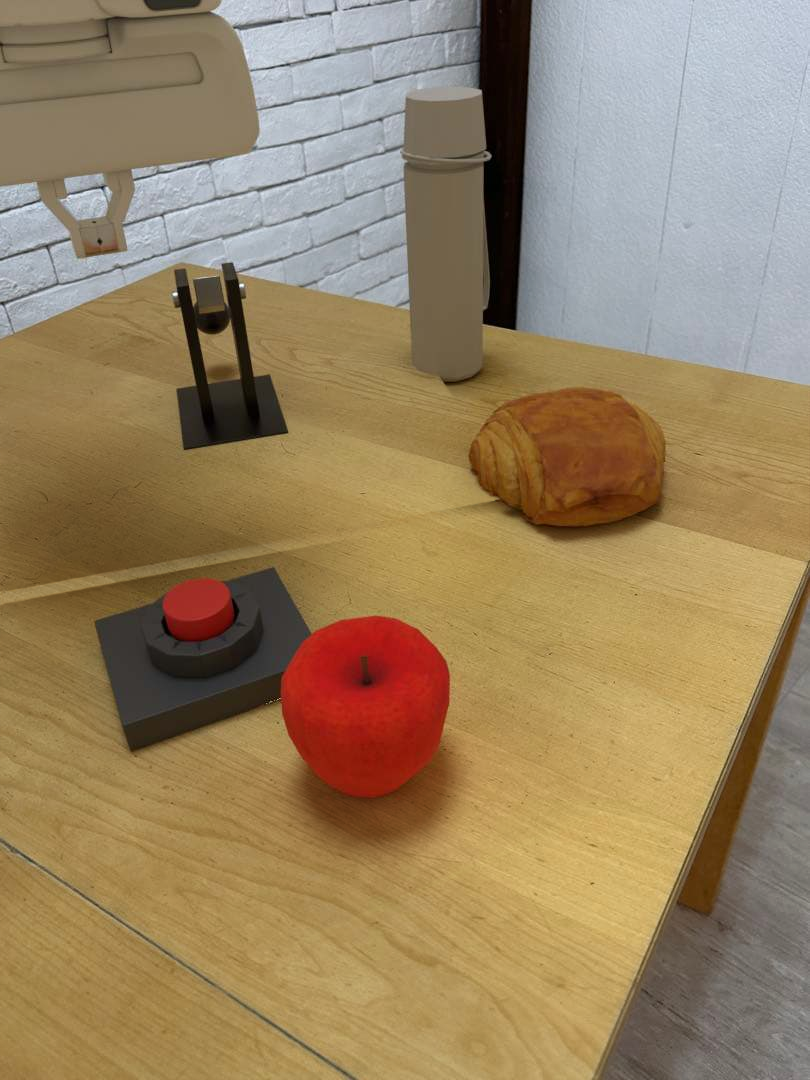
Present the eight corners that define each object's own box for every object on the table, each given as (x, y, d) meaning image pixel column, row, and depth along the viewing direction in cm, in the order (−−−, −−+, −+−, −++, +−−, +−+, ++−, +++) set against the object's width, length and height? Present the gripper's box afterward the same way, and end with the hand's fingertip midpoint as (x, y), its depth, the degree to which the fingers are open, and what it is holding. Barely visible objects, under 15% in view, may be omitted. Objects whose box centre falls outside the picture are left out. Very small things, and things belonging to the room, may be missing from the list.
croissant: (466, 469, 78) (452, 386, 74) (644, 431, 78) (640, 345, 73) (494, 565, 66) (479, 473, 62) (704, 522, 66) (703, 425, 61)
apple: (473, 813, 47) (472, 707, 42) (304, 849, 46) (284, 743, 41) (432, 692, 54) (428, 590, 49) (285, 720, 53) (267, 618, 48)
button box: (130, 752, 51) (114, 702, 49) (102, 646, 59) (86, 598, 56) (329, 683, 55) (322, 634, 53) (277, 591, 62) (270, 544, 60)
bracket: (178, 400, 87) (148, 258, 79) (271, 386, 89) (251, 245, 81) (186, 461, 78) (152, 306, 70) (290, 443, 79) (268, 291, 71)
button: (176, 651, 53) (170, 628, 52) (161, 611, 56) (155, 589, 55) (242, 630, 54) (238, 607, 53) (224, 592, 57) (220, 570, 56)
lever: (196, 339, 88) (189, 302, 87) (233, 334, 88) (226, 297, 88) (191, 316, 75) (182, 272, 74) (234, 310, 75) (226, 266, 75)
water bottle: (448, 394, 86) (442, 106, 71) (394, 369, 90) (378, 95, 76) (515, 364, 90) (522, 87, 76) (460, 342, 95) (457, 79, 81)
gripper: (-202, -3, 40) (-91, 302, 48) (249, -33, 46) (280, 240, 54) (-190, -13, 44) (-90, 266, 52) (218, -39, 51) (250, 213, 59)
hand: (101, 252), depth 53 cm, fingers closed
